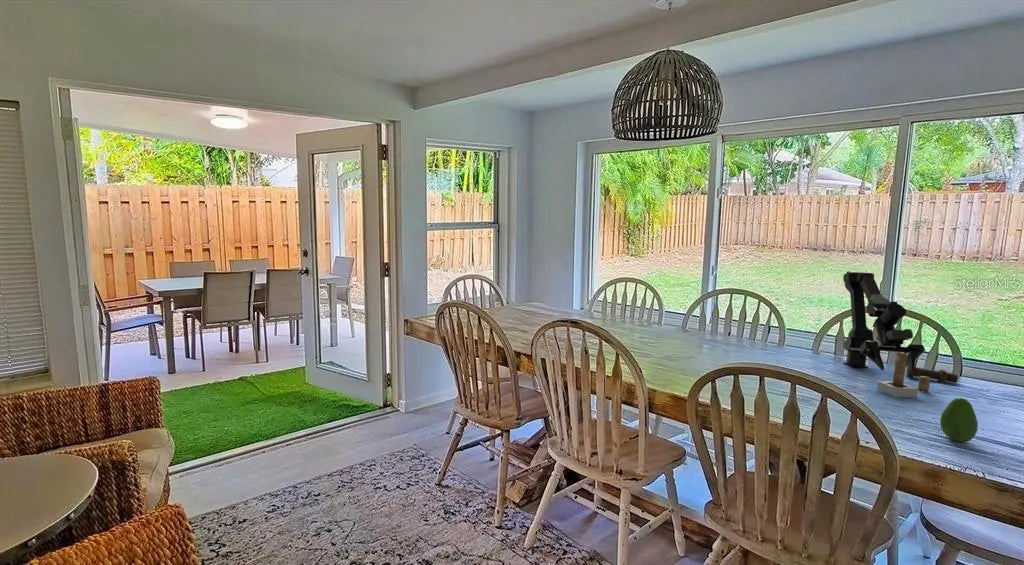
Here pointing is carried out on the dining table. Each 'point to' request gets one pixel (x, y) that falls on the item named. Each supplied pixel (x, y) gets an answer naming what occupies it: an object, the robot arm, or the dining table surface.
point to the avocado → (959, 420)
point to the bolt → (933, 374)
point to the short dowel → (924, 383)
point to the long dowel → (899, 369)
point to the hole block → (897, 389)
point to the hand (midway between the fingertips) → (897, 370)
